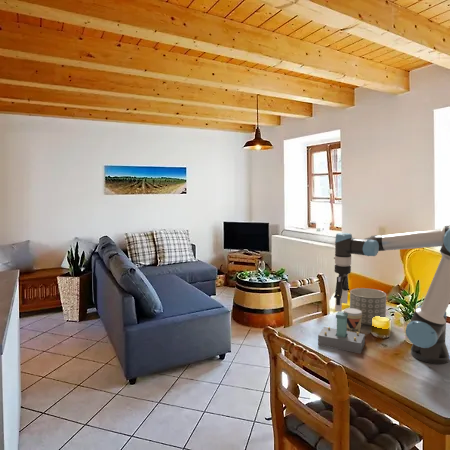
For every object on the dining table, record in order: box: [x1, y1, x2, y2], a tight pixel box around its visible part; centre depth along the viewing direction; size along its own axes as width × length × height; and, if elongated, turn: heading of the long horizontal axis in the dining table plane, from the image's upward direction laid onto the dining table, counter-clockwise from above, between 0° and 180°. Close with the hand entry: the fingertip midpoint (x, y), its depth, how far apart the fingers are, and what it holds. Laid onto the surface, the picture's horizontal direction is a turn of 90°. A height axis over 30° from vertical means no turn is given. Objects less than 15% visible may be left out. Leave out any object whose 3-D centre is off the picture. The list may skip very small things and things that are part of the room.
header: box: [317, 326, 366, 354], centre depth 176 cm, size 20×12×6 cm, turn 60°
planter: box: [349, 287, 387, 327], centre depth 202 cm, size 19×19×18 cm
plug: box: [335, 311, 348, 338], centre depth 176 cm, size 5×5×16 cm
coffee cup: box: [343, 307, 362, 333], centre depth 190 cm, size 9×9×12 cm
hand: (341, 307), depth 175 cm, fingers open, 13 cm apart
